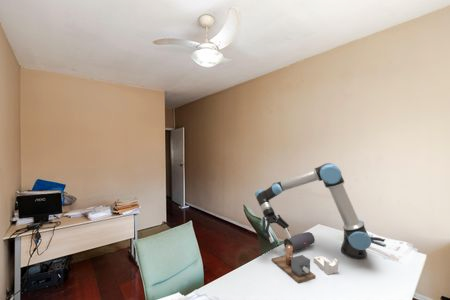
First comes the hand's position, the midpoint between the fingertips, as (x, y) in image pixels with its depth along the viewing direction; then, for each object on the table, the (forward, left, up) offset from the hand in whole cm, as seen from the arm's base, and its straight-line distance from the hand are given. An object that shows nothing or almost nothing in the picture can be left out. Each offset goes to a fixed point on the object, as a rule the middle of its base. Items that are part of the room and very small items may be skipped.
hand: (281, 240), depth 133 cm
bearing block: (-15, +7, -12) cm, 20 cm away
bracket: (-24, -10, -14) cm, 29 cm away
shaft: (-12, +6, -11) cm, 18 cm away
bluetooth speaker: (-3, -24, -13) cm, 27 cm away
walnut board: (-8, +4, -13) cm, 16 cm away
